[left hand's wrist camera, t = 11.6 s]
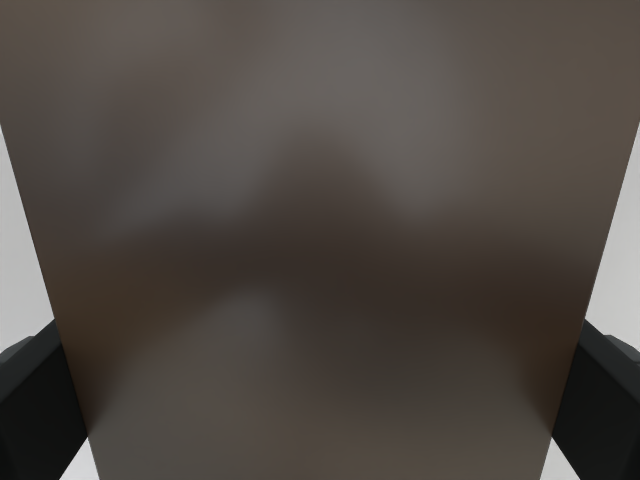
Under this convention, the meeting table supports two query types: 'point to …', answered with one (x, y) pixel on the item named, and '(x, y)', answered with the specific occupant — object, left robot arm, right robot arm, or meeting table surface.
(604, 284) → the meeting table surface
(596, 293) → the meeting table surface
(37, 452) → the left robot arm
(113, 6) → the cabinet
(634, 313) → the meeting table surface
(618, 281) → the meeting table surface
